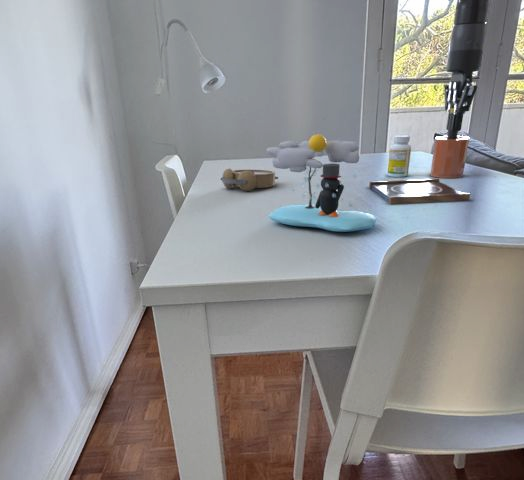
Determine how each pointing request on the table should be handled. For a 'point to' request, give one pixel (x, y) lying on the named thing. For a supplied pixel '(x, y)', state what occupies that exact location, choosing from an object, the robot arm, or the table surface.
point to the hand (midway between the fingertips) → (453, 130)
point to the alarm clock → (248, 179)
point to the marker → (450, 133)
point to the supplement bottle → (399, 156)
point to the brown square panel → (417, 191)
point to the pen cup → (449, 157)
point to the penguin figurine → (328, 199)
